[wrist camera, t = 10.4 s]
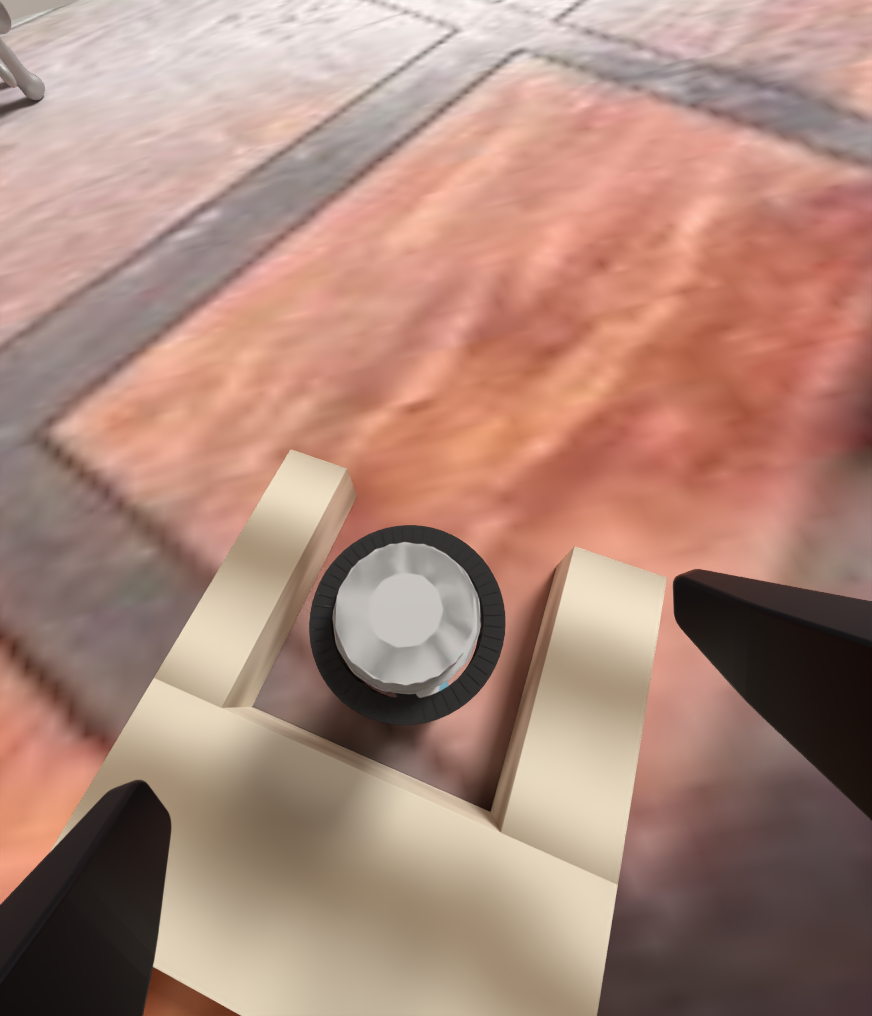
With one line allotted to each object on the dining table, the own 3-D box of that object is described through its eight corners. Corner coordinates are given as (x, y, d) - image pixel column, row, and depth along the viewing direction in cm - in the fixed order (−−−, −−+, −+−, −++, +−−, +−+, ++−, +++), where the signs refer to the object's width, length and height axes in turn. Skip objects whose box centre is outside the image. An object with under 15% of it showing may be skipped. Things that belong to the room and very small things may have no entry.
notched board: (541, 1101, 14) (567, 1197, 11) (91, 863, 17) (24, 895, 14) (636, 593, 21) (666, 577, 18) (307, 478, 24) (290, 449, 21)
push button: (346, 583, 21) (280, 495, 12) (450, 556, 22) (461, 453, 13) (374, 729, 19) (315, 757, 10) (491, 694, 19) (542, 689, 10)
